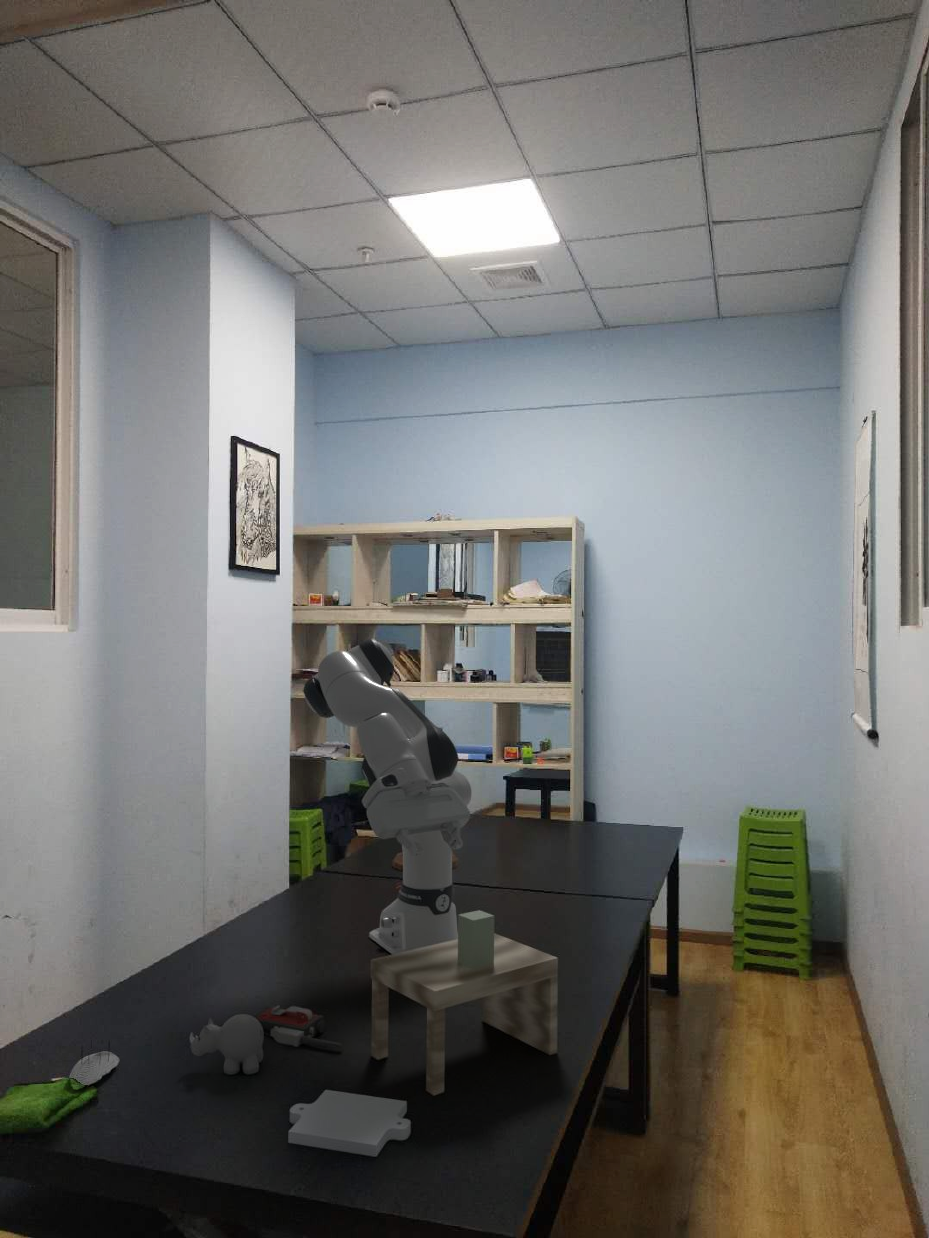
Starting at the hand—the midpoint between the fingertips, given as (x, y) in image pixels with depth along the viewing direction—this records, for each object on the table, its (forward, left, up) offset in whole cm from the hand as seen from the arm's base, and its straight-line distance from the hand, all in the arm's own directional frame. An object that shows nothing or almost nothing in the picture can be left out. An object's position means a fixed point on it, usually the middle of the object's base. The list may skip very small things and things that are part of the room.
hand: (438, 850), depth 173 cm
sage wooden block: (+12, -1, -16) cm, 20 cm away
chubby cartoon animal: (-10, -35, -33) cm, 49 cm away
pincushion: (-20, -53, -33) cm, 65 cm away
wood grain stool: (+9, -1, -32) cm, 34 cm away
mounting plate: (+18, -29, -33) cm, 48 cm away
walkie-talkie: (-14, -19, -33) cm, 41 cm away
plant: (-103, +73, -33) cm, 131 cm away
